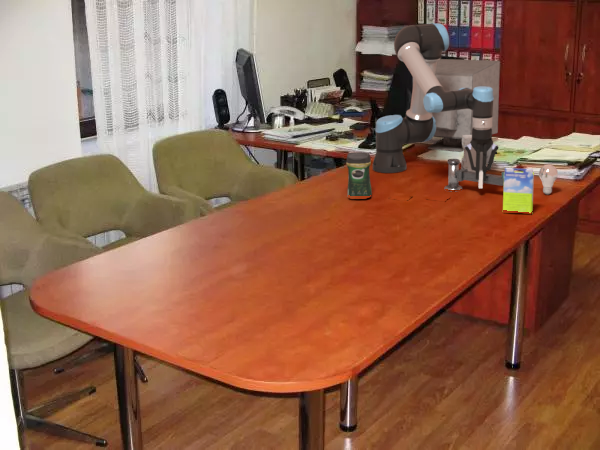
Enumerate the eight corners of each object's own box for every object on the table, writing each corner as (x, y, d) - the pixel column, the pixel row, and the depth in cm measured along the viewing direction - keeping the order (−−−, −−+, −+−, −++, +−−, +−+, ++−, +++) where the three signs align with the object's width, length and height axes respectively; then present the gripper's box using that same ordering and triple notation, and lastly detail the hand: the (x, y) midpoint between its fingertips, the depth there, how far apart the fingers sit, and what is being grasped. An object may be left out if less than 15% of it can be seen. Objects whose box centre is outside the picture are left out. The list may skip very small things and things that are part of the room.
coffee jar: (372, 195, 331) (371, 150, 325) (370, 201, 324) (369, 154, 318) (348, 195, 333) (347, 150, 327) (346, 200, 326) (344, 154, 320)
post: (441, 190, 333) (442, 161, 329) (448, 185, 339) (448, 157, 335) (458, 192, 329) (458, 163, 326) (464, 187, 335) (465, 159, 331)
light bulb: (557, 192, 323) (559, 163, 319) (555, 197, 317) (556, 167, 313) (539, 191, 325) (541, 161, 322) (536, 196, 320) (537, 166, 316)
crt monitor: (498, 141, 409) (500, 60, 396) (470, 158, 379) (472, 71, 367) (433, 136, 427) (433, 58, 414) (401, 152, 397) (400, 68, 385)
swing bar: (456, 180, 329) (457, 167, 327) (463, 177, 333) (463, 164, 331) (507, 188, 316) (507, 174, 314) (513, 185, 319) (513, 171, 317)
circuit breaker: (497, 171, 356) (498, 137, 352) (464, 172, 357) (464, 138, 352) (493, 167, 363) (494, 133, 359) (461, 168, 364) (461, 135, 359)
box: (532, 212, 301) (534, 166, 296) (532, 215, 298) (534, 169, 292) (503, 210, 305) (504, 165, 299) (502, 214, 301) (503, 168, 295)
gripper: (465, 130, 312) (464, 190, 319) (500, 129, 310) (498, 189, 318) (463, 126, 319) (462, 185, 326) (498, 125, 317) (496, 184, 325)
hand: (480, 187), depth 322 cm, fingers closed
